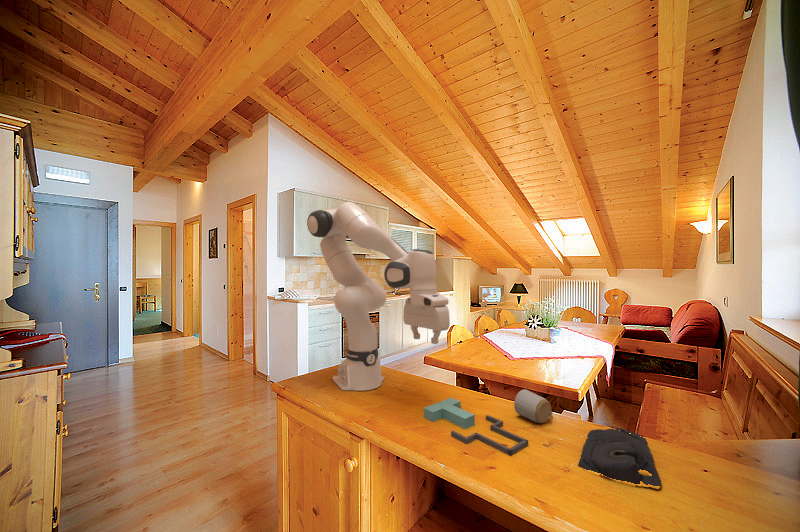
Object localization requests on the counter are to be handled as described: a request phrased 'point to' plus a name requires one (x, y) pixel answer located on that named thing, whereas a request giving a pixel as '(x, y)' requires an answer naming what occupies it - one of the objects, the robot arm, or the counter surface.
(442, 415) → the teal T block
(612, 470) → the dark slate chunk
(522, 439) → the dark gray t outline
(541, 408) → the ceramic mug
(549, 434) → the counter surface
